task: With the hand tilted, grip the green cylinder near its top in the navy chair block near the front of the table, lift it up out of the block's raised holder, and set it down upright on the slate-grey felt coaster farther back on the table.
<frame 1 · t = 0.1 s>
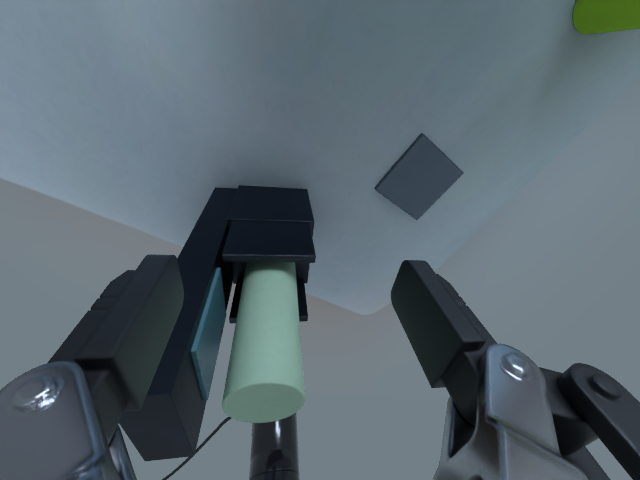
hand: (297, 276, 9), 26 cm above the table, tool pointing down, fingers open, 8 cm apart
green cylinder: (271, 254, 30), point 9 cm above the table, touching navy chair block
soap dispenser: (598, 5, 28), on the table
coaster: (418, 179, 37), on the table
navy chair block: (273, 216, 37), on the table
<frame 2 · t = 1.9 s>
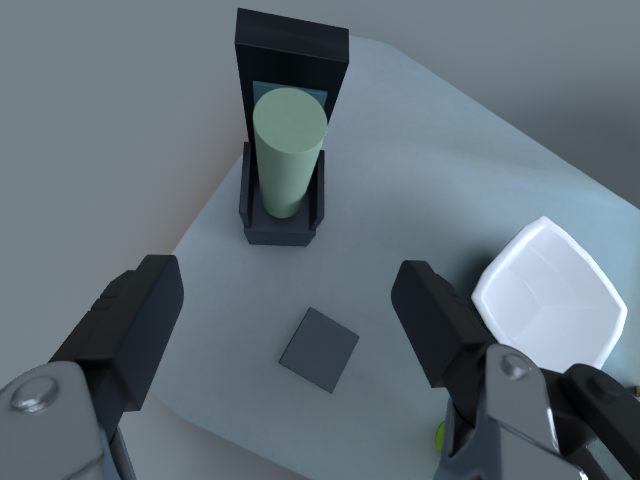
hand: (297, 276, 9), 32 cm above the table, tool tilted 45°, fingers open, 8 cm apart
green cylinder: (281, 199, 34), point 9 cm above the table, touching navy chair block
bowl: (505, 302, 47), on the table
coaster: (320, 348, 39), on the table
navy chair block: (279, 218, 42), on the table
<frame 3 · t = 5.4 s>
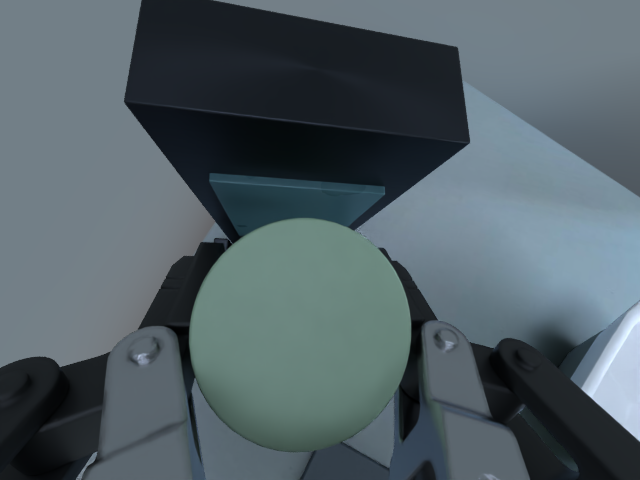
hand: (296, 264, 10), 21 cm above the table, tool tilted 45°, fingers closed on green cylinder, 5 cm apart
green cylinder: (281, 302, 21), point 9 cm above the table, touching gripper, navy chair block
bowl: (582, 399, 35), on the table
navy chair block: (278, 299, 30), on the table
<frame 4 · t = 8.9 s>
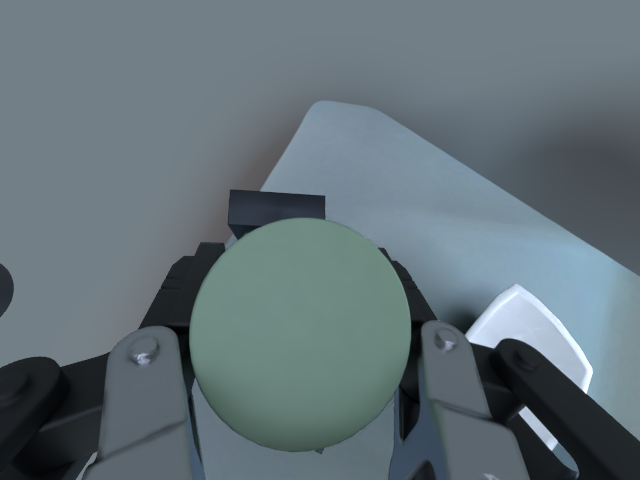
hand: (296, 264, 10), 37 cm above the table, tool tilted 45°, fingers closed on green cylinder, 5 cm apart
green cylinder: (281, 302, 21), point 25 cm above the table, touching gripper
bowl: (483, 356, 51), on the table
navy chair block: (273, 287, 46), on the table
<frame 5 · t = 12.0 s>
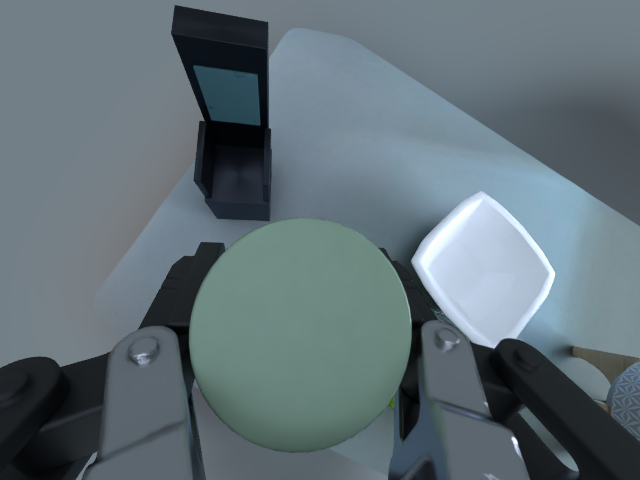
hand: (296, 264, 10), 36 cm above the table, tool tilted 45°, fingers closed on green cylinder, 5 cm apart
planter: (573, 395, 52), on the table
green cylinder: (281, 302, 21), point 24 cm above the table, touching gripper
bowl: (453, 271, 52), on the table
navy chair block: (245, 195, 47), on the table
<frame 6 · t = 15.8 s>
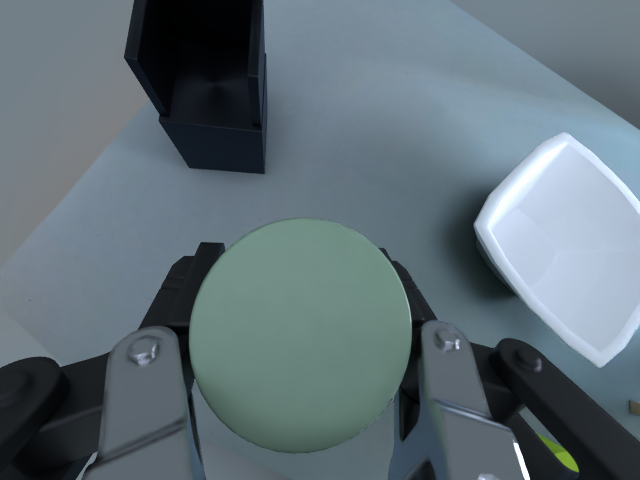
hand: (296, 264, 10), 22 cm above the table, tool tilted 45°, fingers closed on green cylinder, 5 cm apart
green cylinder: (281, 302, 21), point 10 cm above the table, touching gripper
soap dispenser: (446, 418, 32), on the table
bowl: (514, 250, 38), on the table
navy chair block: (230, 138, 33), on the table
when the fingers open (13 cm above the table, at t = 18.7 s): green cylinder stays where it is, resting on coaster.
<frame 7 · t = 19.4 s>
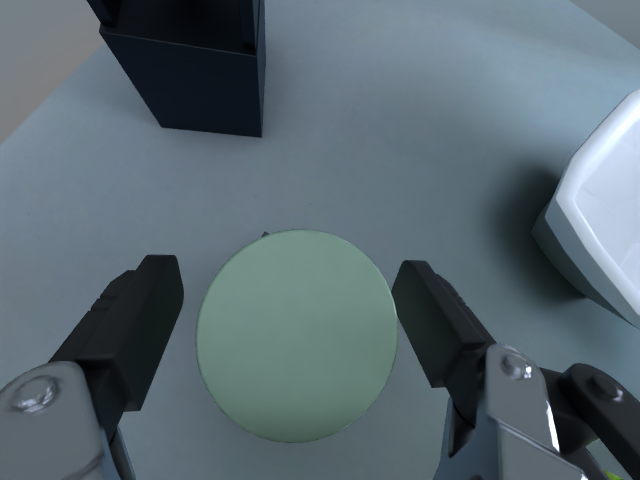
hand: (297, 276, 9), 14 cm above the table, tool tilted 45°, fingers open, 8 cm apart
green cylinder: (280, 303, 22), point 1 cm above the table, touching coaster
bowl: (577, 239, 30), on the table
navy chair block: (217, 91, 25), on the table
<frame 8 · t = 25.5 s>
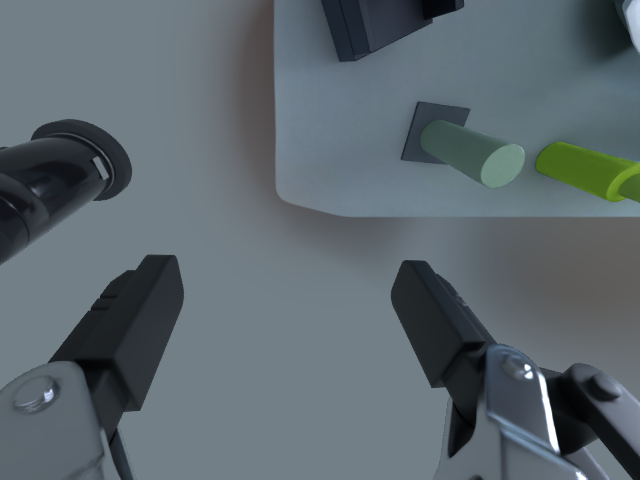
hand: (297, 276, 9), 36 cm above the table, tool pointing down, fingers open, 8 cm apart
green cylinder: (434, 136, 43), point 1 cm above the table, touching coaster
soap dispenser: (547, 160, 49), on the table
coaster: (433, 134, 44), on the table
navy chair block: (360, 6, 33), on the table
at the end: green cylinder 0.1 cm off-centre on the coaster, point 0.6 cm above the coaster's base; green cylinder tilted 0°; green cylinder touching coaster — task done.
